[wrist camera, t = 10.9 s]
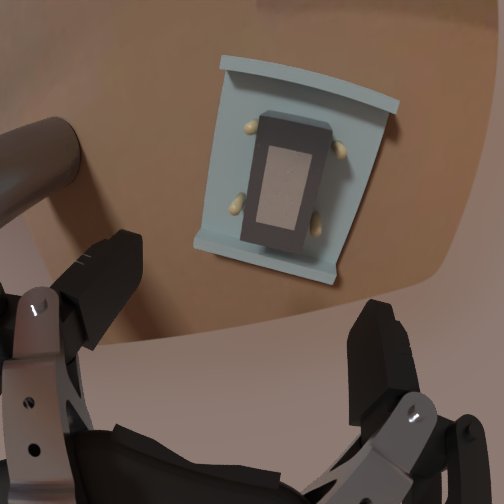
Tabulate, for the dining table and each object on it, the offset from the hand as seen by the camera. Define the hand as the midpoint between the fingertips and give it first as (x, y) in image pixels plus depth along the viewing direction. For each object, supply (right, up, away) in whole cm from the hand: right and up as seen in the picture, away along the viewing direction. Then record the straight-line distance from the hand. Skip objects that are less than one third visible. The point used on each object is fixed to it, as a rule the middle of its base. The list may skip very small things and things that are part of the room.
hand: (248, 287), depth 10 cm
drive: (+3, +8, +15) cm, 18 cm away
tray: (+3, +9, +16) cm, 19 cm away
